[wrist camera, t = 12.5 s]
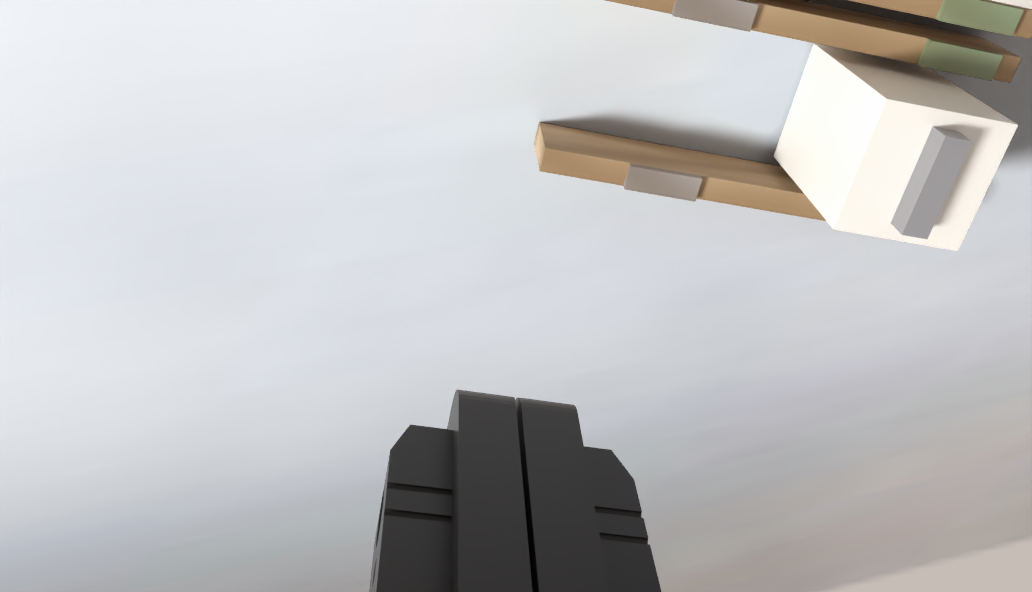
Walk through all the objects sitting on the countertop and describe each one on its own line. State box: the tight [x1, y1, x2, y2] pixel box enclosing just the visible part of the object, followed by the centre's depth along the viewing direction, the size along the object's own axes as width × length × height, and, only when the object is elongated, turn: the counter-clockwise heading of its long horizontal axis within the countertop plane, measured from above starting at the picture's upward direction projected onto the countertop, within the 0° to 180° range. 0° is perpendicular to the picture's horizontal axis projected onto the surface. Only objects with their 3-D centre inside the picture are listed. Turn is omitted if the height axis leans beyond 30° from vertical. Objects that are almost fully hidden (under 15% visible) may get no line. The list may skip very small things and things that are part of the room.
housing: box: [534, 0, 1021, 221], centre depth 31 cm, size 6×14×3 cm, turn 78°
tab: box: [774, 44, 1018, 251], centre depth 29 cm, size 4×4×7 cm
